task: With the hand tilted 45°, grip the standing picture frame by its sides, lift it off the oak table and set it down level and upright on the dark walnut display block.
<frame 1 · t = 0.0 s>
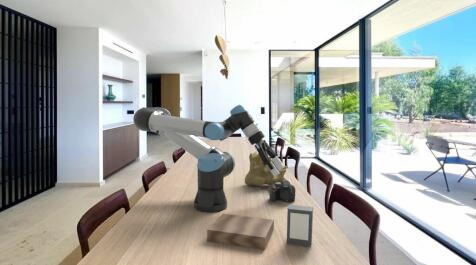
hand: (279, 172, 142), 15 cm above the table, tool tilted 35°, fingers open, 13 cm apart
picture frame: (299, 242, 104), on the table
camera: (283, 200, 149), on the table
decorative coral: (266, 186, 175), on the table
display block: (241, 235, 108), on the table
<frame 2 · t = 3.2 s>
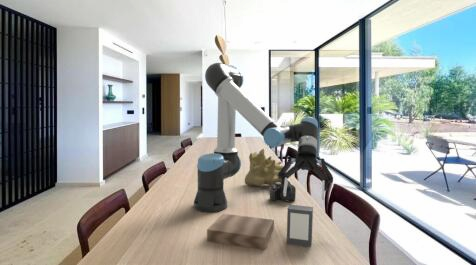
hand: (303, 196, 110), 13 cm above the table, tool tilted 45°, fingers open, 13 cm apart
nothing on the table moved.
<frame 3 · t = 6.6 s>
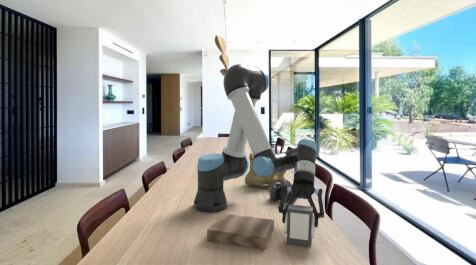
hand: (298, 234, 100), 4 cm above the table, tool tilted 45°, fingers closed on picture frame, 8 cm apart
picture frame: (299, 242, 104), on the table, touching gripper
everything else where it was.
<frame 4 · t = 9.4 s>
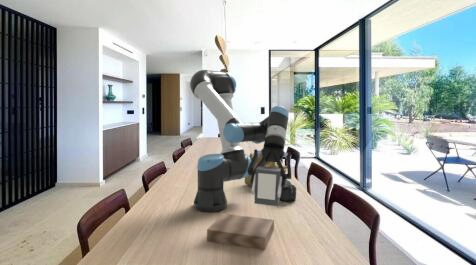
hand: (265, 193, 102), 17 cm above the table, tool tilted 45°, fingers closed on picture frame, 8 cm apart
picture frame: (267, 202, 106), point 12 cm above the table, touching gripper
everything else where it was.
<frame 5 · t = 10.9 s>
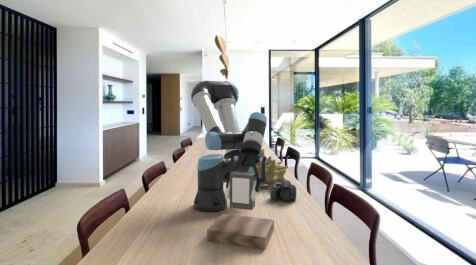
hand: (239, 198, 104), 15 cm above the table, tool tilted 45°, fingers closed on picture frame, 8 cm apart
picture frame: (242, 206, 107), point 10 cm above the table, touching gripper
everything else where it was.
when the fingers open (9 cm above the table, at t = 12.4 s): picture frame stays where it is, resting on display block.
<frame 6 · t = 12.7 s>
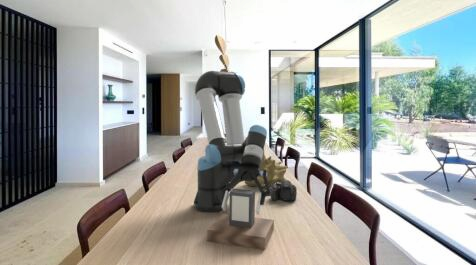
hand: (240, 210, 105), 10 cm above the table, tool tilted 45°, fingers open, 11 cm apart
picture frame: (241, 224, 108), point 4 cm above the table, touching display block
everything else where it was.
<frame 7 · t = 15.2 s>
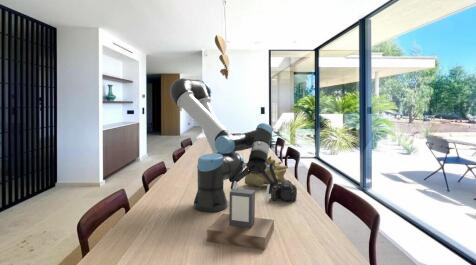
hand: (249, 199, 117), 10 cm above the table, tool tilted 45°, fingers open, 13 cm apart
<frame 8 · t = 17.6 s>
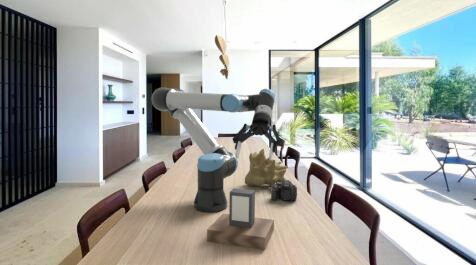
hand: (253, 157, 120), 26 cm above the table, tool tilted 45°, fingers open, 13 cm apart
at the end: picture frame inside the target area on the display block (0.0 cm from its centre), point 4.0 cm above the display block's base; picture frame tilted 0°; the gripper is holding nothing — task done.
